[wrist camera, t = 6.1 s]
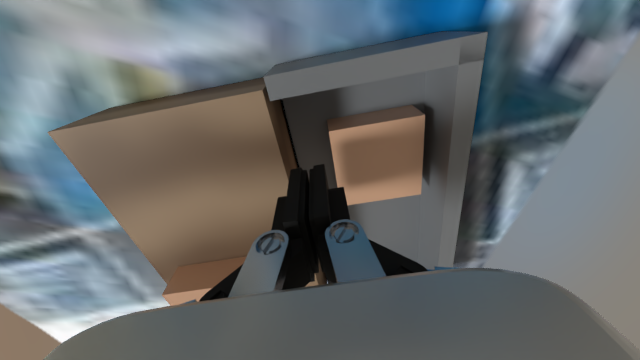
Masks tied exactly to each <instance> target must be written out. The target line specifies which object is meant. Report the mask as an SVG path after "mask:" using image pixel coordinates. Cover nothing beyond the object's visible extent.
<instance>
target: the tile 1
mask: <svg viewBox="0 0 640 360" xmlns="http://www.w3.org/2000/svg"><path fill="white" fill-rule="evenodd" d="M246 257H247V256H246ZM246 257H239V258H232V259H226V260H219V261H212V262H206V263H199V264H192V265H186V266H179V267H177V269H176V271H175V273H174V275H173V276H172V278H171V280H170V282H169V283H168V285H167V287H166V289H165V290H164V292H163V294H162V296H163V297H164V298H165V299H166V301H167V302H168V303H169V304H170V305H171V306H174V305H179V304H182V303H185V302H188V301H191V300H194V299H196V301H197V302H198V301H199V300H200V299H201V297H202V296H204V295H205V294H206V293H207V292H208V291H209V290H210V289H212V288H213V287H214V286H216V285H217V284H218V283H219V282H221V281H222V280H223V279H224V278H226V277H227V276H228V275H230V274H231V273H232V272H233V271H235V270H236V269H237V268H238V267H240V266H241V265H242V264H244V261H245V259H246Z"/></svg>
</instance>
